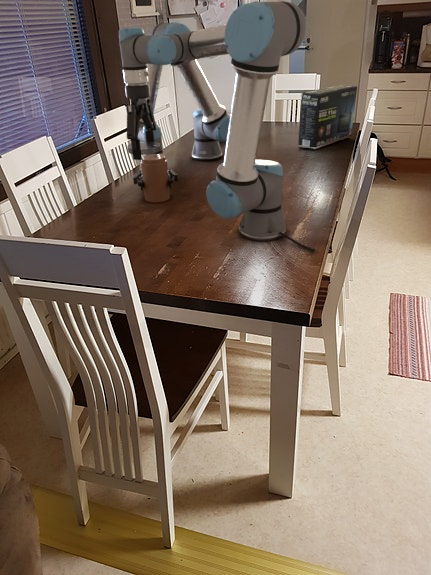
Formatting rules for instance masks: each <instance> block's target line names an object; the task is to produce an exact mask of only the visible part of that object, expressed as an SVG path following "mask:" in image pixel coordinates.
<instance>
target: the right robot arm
mask: <svg viewBox="0 0 431 575" xmlns="http://www.w3.org/2000/svg"><path fill="white" fill-rule="evenodd" d="M307 25H308V24H307V19H306V16H305V13H304V12H303V10H302V9H301V8H300V7H299V6H298V5H296V4H295V3H293V2H290V1H285V0H284V1H283V0H281V1H257V0H256V1H252V2H251V1H250V2H246V3H244V4H241V5H239V6H238V7H236V9H235V10H233V11H232V13H231V14H230V15H229V18H227V22H226V24H223V25H217V26H212V27H207V28H203V29H196V30H190V31H191V32H186V33H178V34H164V35H149V34H147V35H146V34H145V30H144V28H143V27H142V26H141V27H140V26H131V27H121V28H120V29H119V30H118V39H119V40H118V41H119V43H118V45H119V50H120V51H119V52H120V57H121V66H122V74H123V83H124V84H125V86H124V90H125V91H124V92H125V96H126V98H127V99H129V100H130V105H128V104H127V105H126V106H125V110H126V139H127V140H129V141H130V142H131V143H130V144H131V145H132V153H133V154H132V159H133V161H141V160H142V155H141V148H140V139H138V134H139V126H140V119H142V120H143V122H144V125H145V127H146V130H148V131H145V134H146V141H152V142H154V132H153V131H156V124H157V123H156V119H155V115H154V114H155V113H154V114H153V110H152V106H151V99H146V98H148V97H149V96H150V90H149V85H148V84H147V82H148V75H149V73H148V71H147V64H155V65H159V66H161V65H163V66H168V65H171V64H170V63H172V62H178V61H188V60H197V61H198V60H200V59H207V58H214V57H221V56H228V55H229V56H230V58H231V59H230V60H231V61H230V65H231V67H232V68H233V70H234V71H235V77H234V84H233V91H232V98H231V107H230V114H229V116H230V120H229V128H228V135H227V142H225V151H224V157H223V162H222V163H221V164H218V166H217V169H216V176H215V179H214V180H212V181H210V183H209V184H208V185H207V187H206V191H205V195H206V200H207V203H208V206H209V207H210V208H211V210H212V211H213V213H215V215H217V217H219V218H221V219H225V220H230V219H234V218H238V217H240V216H241V215H242V216H241V218H240V219H241V220H240V221H239V226H238V232H239V235H240V236H241V237H242V238H244V239H247V240H250V241H254V242H271V241H277V240H279V239H281V238H283V237H284V238H286V239H288V240H289V241H291V242H292V243H293V244H296V245H297V246H299V247H300V248H304V249H305V250H309V251H311V252H315V251H316V249H315V248H313V247H310V246H308V245H305V244H303V243H300V242H298V241H297V240H296V239H294V238H292V237H291V236H289V235H287V223H286V221H285V216H284V214H283V210H282V200H283V182H284V180H283V179H284V169H283V165H282V164H281V163H280V162H278V161H274V160H270V159H257V155H258V154H257V153H258V148H259V143H260V138H261V133H262V127H263V121H264V116H265V110H266V106H267V99H268V93H269V88H270V82H271V78H272V77H273V76H274V75H275V74H276V73H278V72H279V68H280V63H281V57H285V56H288V55H291V54H292V53H294V52H296V51H297V50H298V49H299V48H300V47H301V45H302V44H303V43H304V40H305V38H306V35H307V30H308V26H307Z"/></svg>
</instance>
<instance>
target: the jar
mask: <svg viewBox="0 0 431 575" xmlns="http://www.w3.org/2000/svg"><path fill="white" fill-rule="evenodd" d="M141 157H142V160H139V161H140V163H139V164H140V171H141V173H142V181H143V196H144V200H145V201H146V202H149V203H163V202H166V201H168V200H170V199H171V192H170V188H169V179H168V170H169V169H168V159H167V158H166V155H165V154H163V155H162V154H148V155H141Z"/></svg>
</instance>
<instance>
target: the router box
mask: <svg viewBox="0 0 431 575" xmlns="http://www.w3.org/2000/svg"><path fill="white" fill-rule="evenodd" d="M357 93H358V86H356V85H350V84H339V85H338V84H337V85H334V86H328V87H324V88H318V89H314V90H309V91H304V92H301V93H300V109H299V110H300V111H299V124H298V137H297V146H298V145H302V146H307V147H317V146H320V145H323V144H325V143H328V142H331V141H333V140H336V139H338V138H341V137H344V136H347V135H351V136H352V133H353V132H352V131H353V125H354V115H355V109H356V99H357ZM311 151H313V150H312V149H311Z"/></svg>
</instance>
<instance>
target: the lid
mask: <svg viewBox="0 0 431 575" xmlns="http://www.w3.org/2000/svg"><path fill="white" fill-rule="evenodd" d="M140 148H141V156H144V155H146V154H152V153H156V152H158V151H159V150H160V145H159V143H157V142H152V141H143V142H140ZM127 152H128V154H130V155H133V153H132V145H131V143H130V144H127Z"/></svg>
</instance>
